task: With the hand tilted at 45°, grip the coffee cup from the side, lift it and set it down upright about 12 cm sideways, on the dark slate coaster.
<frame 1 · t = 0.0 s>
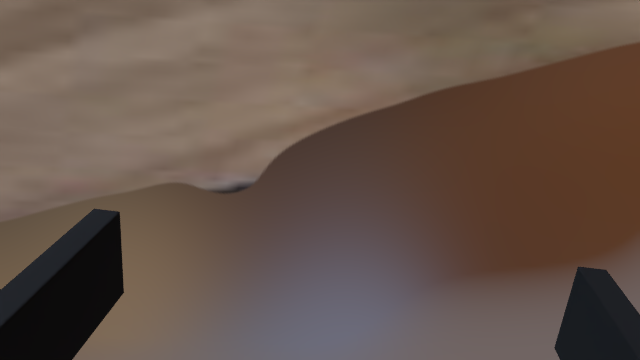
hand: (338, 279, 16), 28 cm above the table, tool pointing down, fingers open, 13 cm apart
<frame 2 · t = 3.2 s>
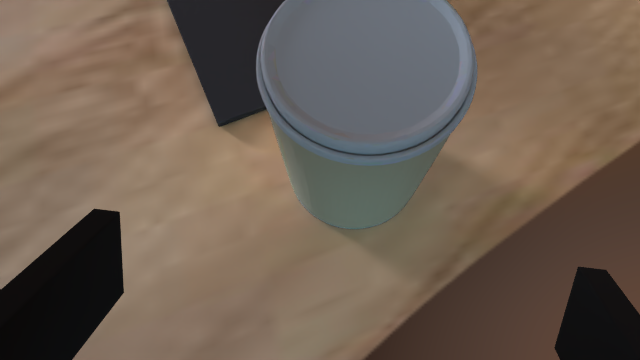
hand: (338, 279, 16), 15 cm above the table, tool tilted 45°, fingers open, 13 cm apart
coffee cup: (352, 171, 34), on the table
coaster: (276, 17, 39), on the table
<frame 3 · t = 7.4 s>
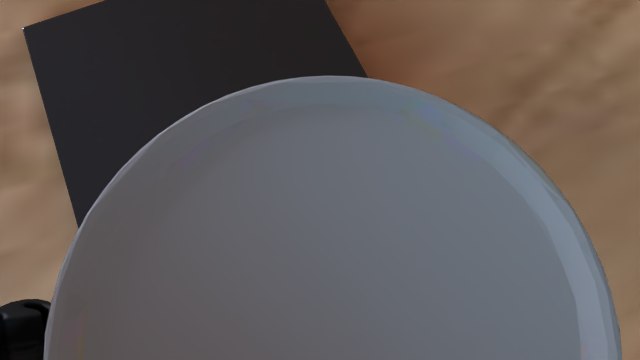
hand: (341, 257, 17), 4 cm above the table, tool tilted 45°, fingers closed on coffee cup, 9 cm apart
coaster: (209, 96, 24), on the table
when the fingers open (4 cm above the table, at t = 15.2 s): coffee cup stays where it is, resting on coaster.
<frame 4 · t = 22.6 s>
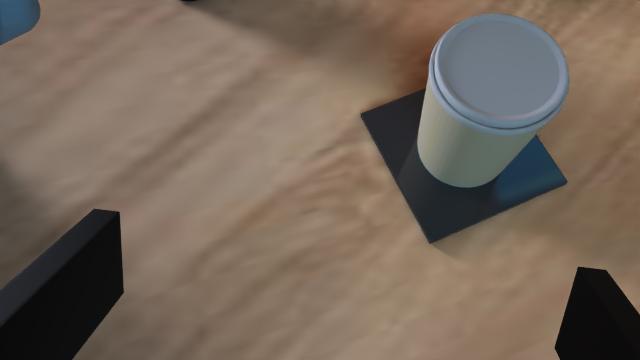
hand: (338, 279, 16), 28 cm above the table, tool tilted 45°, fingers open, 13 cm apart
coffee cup: (461, 148, 48), resting on coaster
coaster: (460, 149, 49), on the table
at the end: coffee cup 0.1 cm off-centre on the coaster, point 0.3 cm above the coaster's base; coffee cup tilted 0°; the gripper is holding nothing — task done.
